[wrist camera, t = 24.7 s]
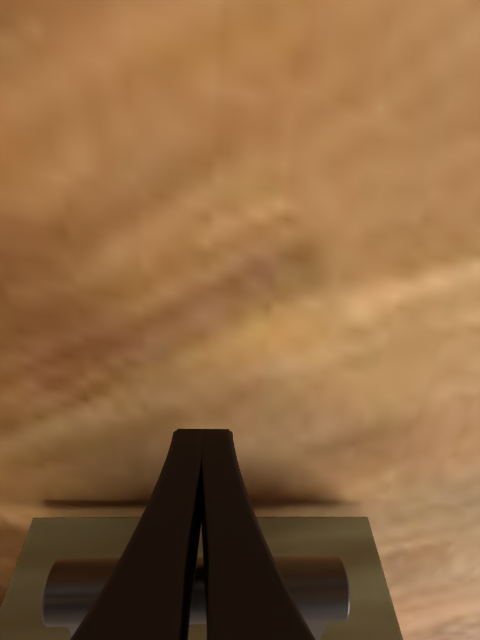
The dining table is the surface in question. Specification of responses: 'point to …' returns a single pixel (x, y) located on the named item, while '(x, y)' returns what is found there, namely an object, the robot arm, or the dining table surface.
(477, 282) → the dining table surface
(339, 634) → the drawer
